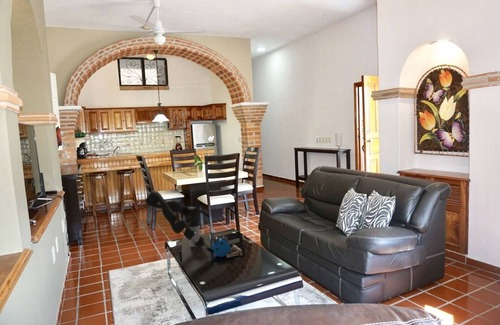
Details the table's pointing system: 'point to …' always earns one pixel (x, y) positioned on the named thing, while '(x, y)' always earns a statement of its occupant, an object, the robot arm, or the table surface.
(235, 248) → the wooden staple shape
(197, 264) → the table surface
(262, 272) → the table surface
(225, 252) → the alarm clock
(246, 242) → the table surface
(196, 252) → the table surface
